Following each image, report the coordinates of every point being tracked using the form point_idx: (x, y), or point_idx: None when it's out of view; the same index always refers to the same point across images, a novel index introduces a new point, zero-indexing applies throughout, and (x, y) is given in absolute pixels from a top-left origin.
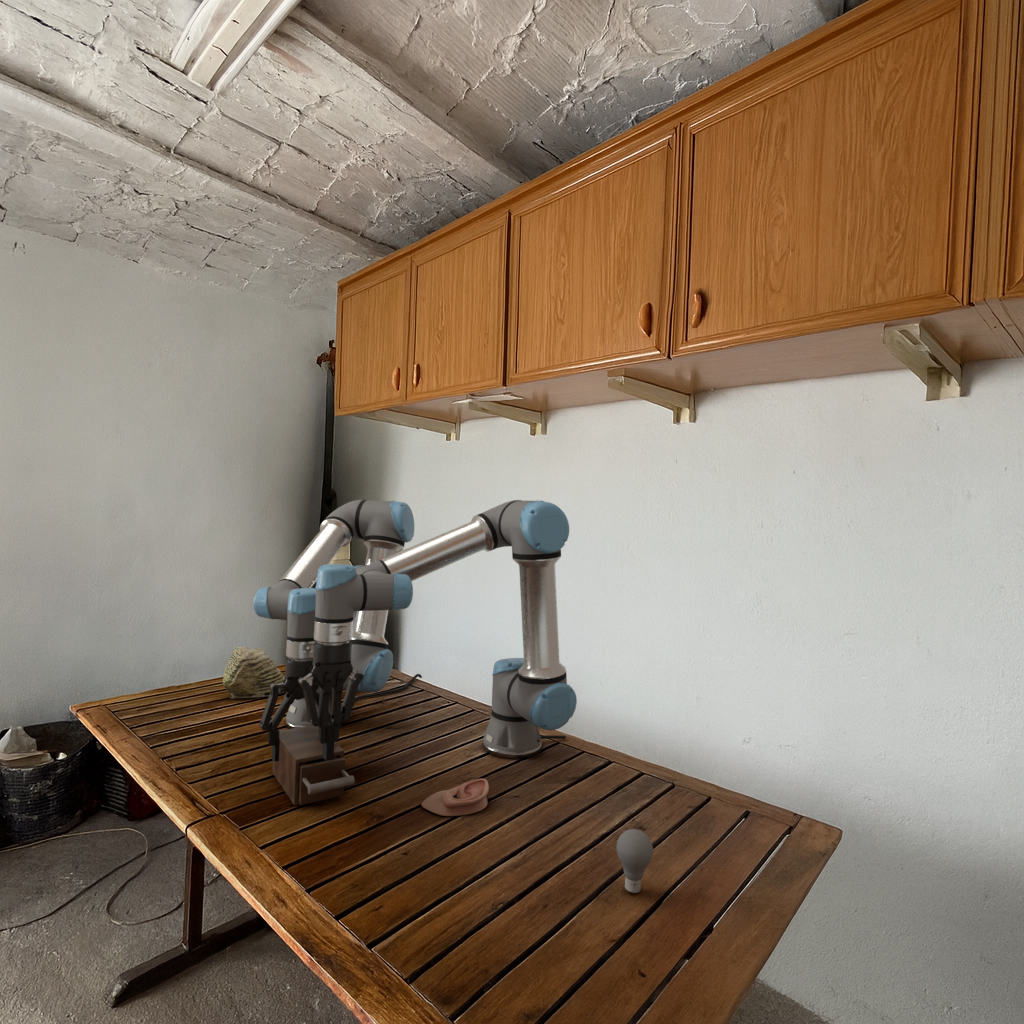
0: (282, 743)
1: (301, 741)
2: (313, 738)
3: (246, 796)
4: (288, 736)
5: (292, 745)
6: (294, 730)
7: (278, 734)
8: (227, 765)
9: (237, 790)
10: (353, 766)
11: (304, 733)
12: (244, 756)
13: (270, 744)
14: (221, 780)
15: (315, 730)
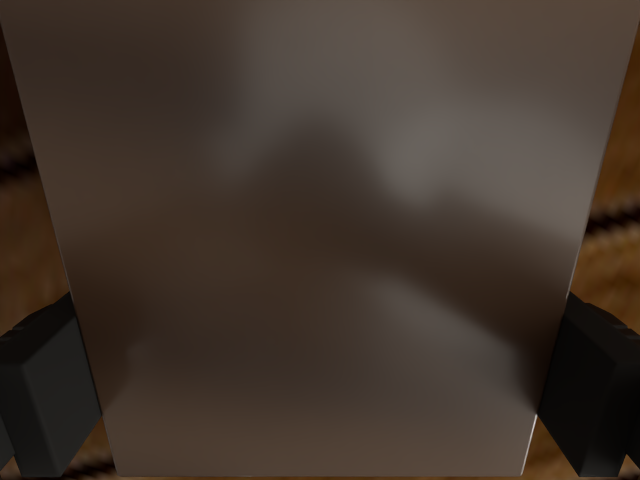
0: (595, 177)
1: (397, 114)
2: (237, 144)
3: (632, 94)
4: (463, 323)
5: (549, 26)
6: (355, 432)
7: (600, 343)
8: (549, 433)
9: (631, 186)
10: (38, 183)
11: (292, 328)
12: (463, 477)
13: (594, 310)
14: (634, 317)
15: (168, 355)
